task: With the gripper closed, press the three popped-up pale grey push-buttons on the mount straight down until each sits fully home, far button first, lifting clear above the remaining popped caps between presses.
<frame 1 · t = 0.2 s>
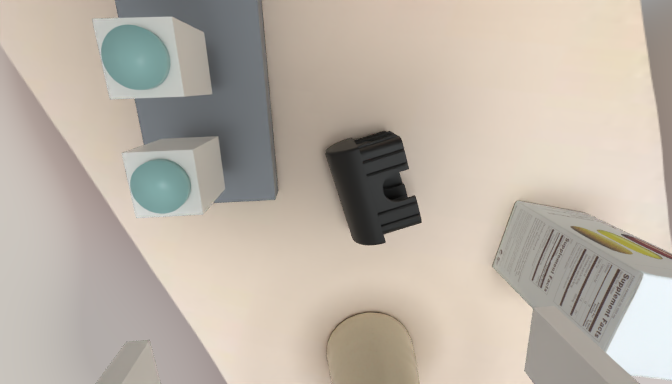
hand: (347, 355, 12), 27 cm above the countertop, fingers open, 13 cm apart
mount: (206, 69, 34), on the countertop
end cap: (366, 177, 39), on the countertop
lamp: (368, 345, 46), on the countertop
supplement box: (536, 239, 43), on the countertop
button mid: (159, 62, 24), point 11 cm above the countertop, slide at 4.0 cm
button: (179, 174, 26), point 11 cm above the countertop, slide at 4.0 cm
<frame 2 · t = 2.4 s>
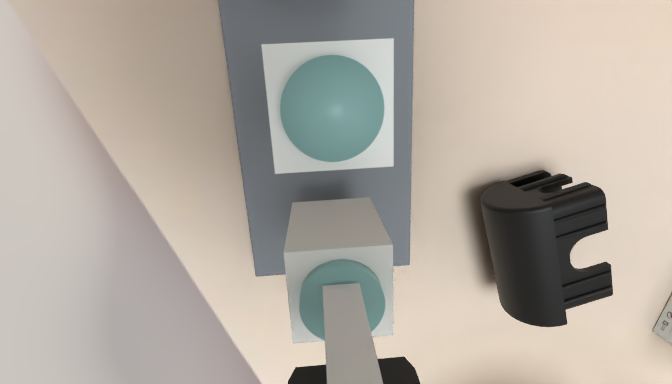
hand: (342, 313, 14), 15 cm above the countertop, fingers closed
mount: (322, 96, 26), on the countertop
end cap: (511, 227, 30), on the countertop
button mid: (328, 104, 15), point 11 cm above the countertop, slide at 4.0 cm
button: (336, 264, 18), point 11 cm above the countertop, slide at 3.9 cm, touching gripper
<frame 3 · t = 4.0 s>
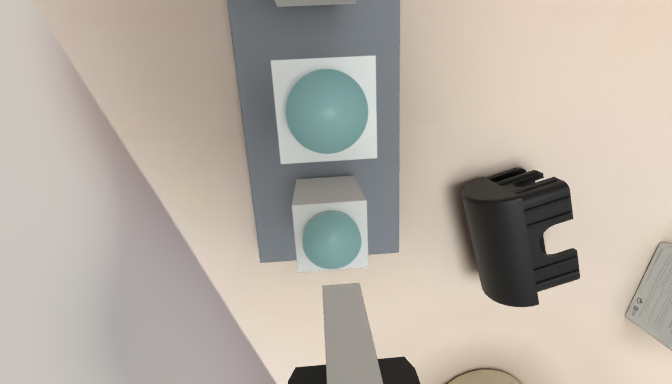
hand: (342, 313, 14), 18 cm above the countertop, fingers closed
mount: (320, 101, 29), on the countertop
end cap: (492, 219, 34), on the countertop
button mid: (324, 108, 18), point 11 cm above the countertop, slide at 4.0 cm
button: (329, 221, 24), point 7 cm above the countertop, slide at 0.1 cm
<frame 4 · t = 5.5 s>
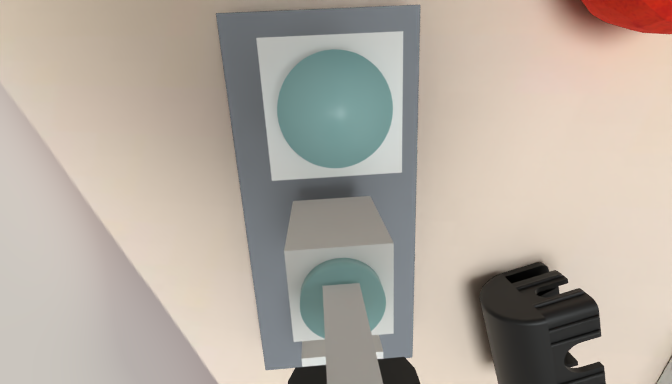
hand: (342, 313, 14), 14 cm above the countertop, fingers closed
mount: (329, 201, 27), on the countertop
end cap: (510, 311, 32), on the countertop
button mid: (337, 262, 18), point 10 cm above the countertop, slide at 2.7 cm, touching gripper
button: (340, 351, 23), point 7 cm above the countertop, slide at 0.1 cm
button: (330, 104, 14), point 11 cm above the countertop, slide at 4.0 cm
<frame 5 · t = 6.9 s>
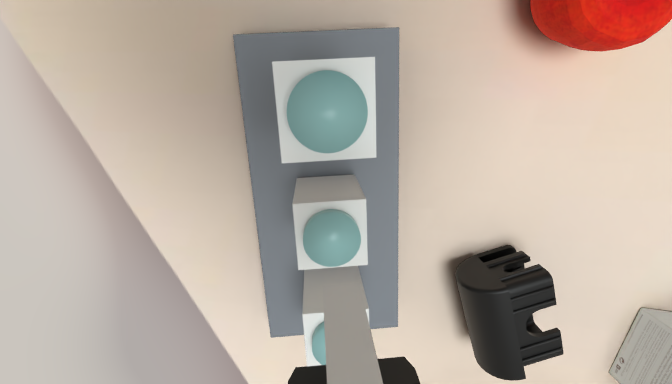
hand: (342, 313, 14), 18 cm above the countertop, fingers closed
apple: (557, 0, 28), on the countertop
mount: (325, 191, 32), on the countertop
end cap: (484, 289, 36), on the countertop
supplement box: (656, 343, 40), on the countertop
button mid: (329, 219, 25), point 7 cm above the countertop, slide at 0.1 cm
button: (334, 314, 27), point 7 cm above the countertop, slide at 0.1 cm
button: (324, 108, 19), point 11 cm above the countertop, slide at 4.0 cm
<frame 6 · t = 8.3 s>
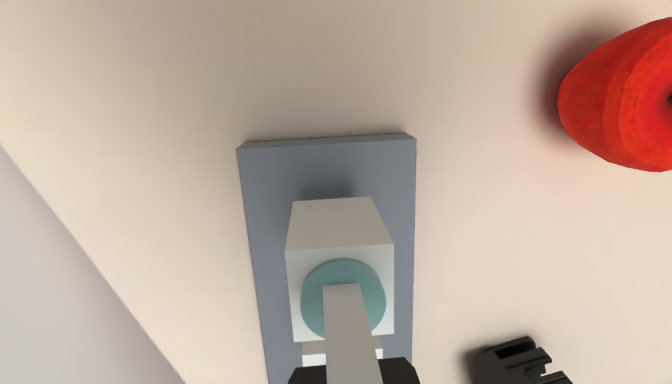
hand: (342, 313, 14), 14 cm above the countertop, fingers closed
apple: (586, 95, 26), on the countertop
mount: (334, 288, 30), on the countertop
end cap: (500, 378, 34), on the countertop
button mid: (340, 348, 23), point 7 cm above the countertop, slide at 0.1 cm
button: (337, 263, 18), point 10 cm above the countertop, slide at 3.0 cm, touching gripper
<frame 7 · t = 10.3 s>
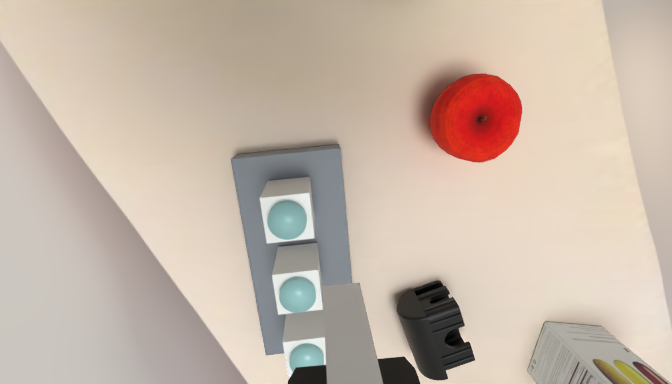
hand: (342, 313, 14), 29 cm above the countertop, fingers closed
apple: (453, 115, 41), on the countertop
mount: (300, 249, 44), on the countertop
end cap: (424, 313, 49), on the countertop
supplement box: (562, 347, 52), on the countertop
button mid: (298, 278, 37), point 7 cm above the countertop, slide at 0.1 cm
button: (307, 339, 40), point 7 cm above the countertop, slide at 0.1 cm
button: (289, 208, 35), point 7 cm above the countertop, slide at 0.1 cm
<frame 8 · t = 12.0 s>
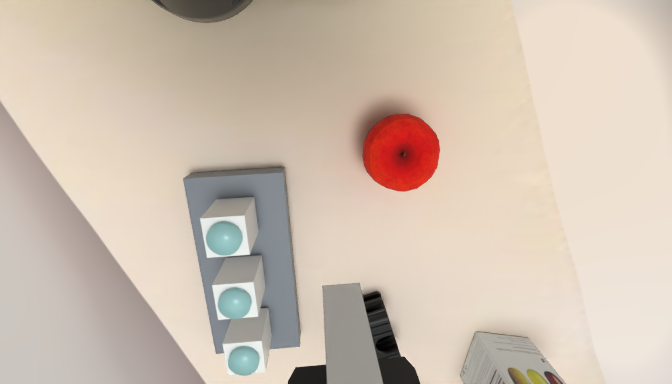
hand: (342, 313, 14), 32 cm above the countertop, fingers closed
apple: (390, 145, 45), on the countertop
mount: (250, 259, 49), on the countertop
end cap: (364, 320, 53), on the countertop
supplement box: (492, 355, 57), on the countertop
button mid: (240, 287, 42), point 7 cm above the countertop, slide at 0.1 cm
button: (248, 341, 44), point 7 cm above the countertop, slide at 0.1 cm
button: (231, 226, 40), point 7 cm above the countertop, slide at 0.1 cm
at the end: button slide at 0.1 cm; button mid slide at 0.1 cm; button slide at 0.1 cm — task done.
